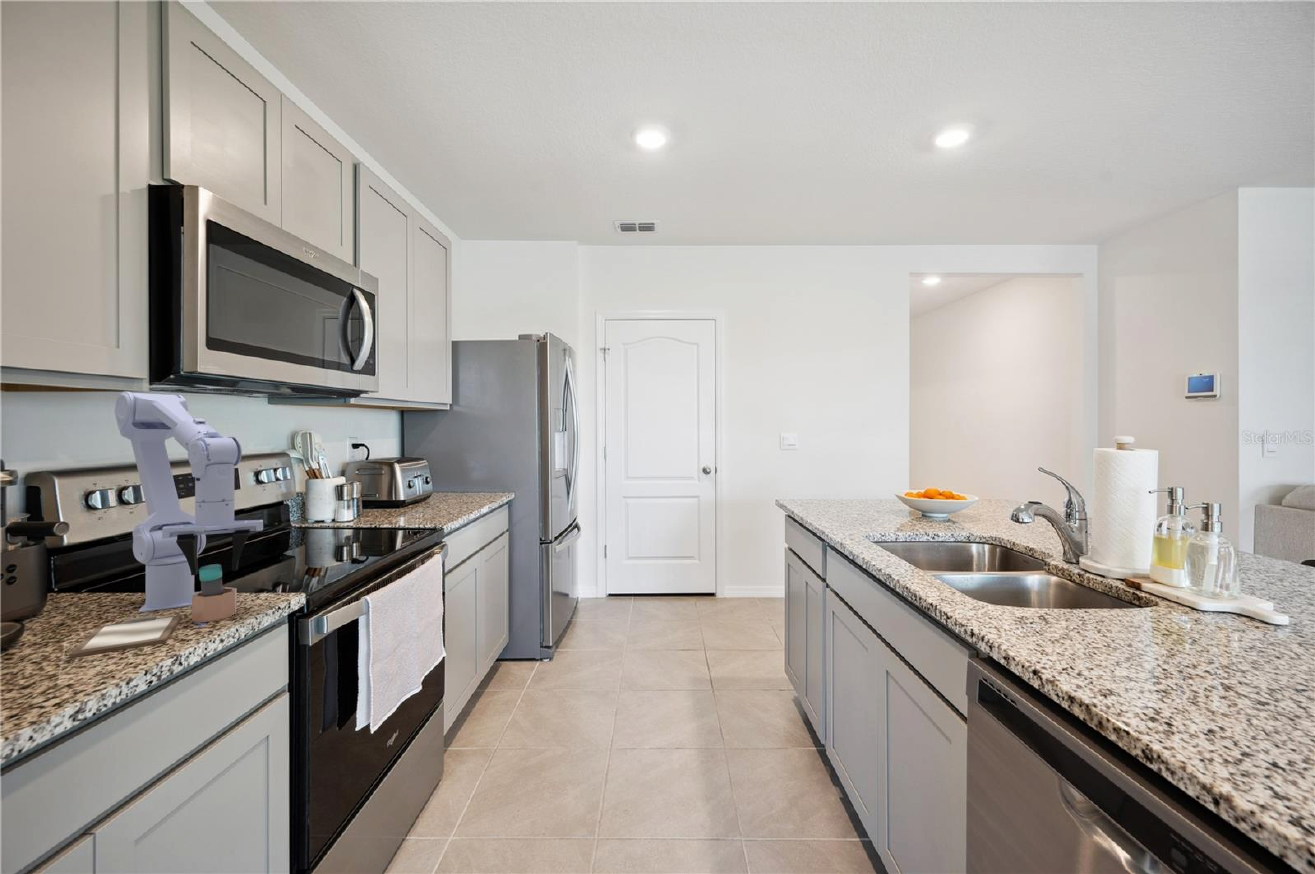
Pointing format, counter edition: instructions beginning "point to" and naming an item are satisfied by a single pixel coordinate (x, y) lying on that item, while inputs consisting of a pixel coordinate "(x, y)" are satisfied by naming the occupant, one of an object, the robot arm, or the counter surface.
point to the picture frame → (127, 635)
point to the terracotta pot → (214, 605)
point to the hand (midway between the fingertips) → (214, 571)
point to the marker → (211, 580)
